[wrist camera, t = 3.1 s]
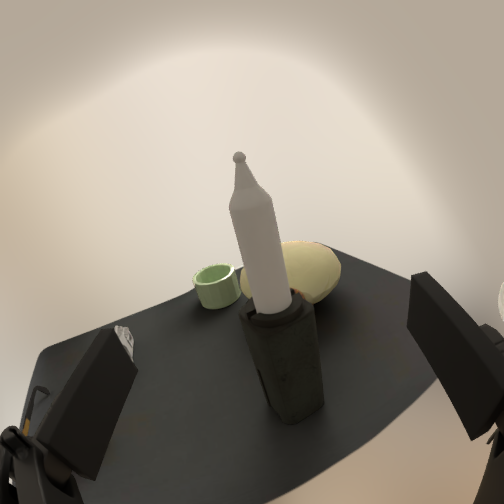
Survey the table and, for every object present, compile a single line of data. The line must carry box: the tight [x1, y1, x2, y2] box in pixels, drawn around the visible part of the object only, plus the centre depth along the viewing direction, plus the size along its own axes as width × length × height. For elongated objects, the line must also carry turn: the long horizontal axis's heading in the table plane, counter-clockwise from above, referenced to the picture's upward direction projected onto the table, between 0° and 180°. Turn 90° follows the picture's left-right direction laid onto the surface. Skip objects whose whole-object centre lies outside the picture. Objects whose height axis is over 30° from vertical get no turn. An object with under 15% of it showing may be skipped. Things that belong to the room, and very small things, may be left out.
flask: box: [240, 241, 341, 305], centre depth 42 cm, size 9×16×18 cm
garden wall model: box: [114, 326, 134, 361], centre depth 37 cm, size 12×2×6 cm, turn 18°
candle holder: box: [192, 263, 241, 309], centre depth 51 cm, size 8×8×5 cm
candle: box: [229, 152, 324, 424], centre depth 22 cm, size 5×5×25 cm
